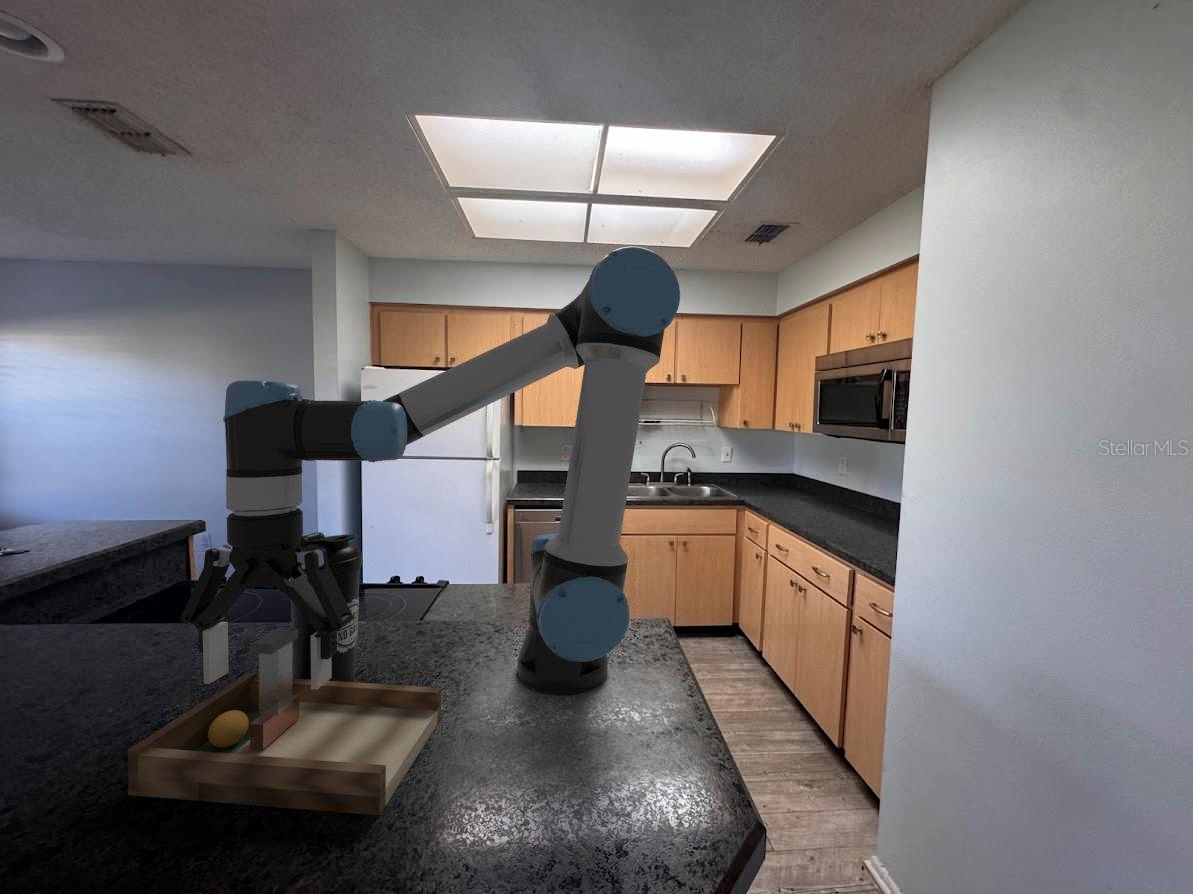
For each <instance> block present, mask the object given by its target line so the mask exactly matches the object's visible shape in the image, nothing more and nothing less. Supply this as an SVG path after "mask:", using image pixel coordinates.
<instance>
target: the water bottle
mask: <svg viewBox="0 0 1193 894" xmlns="http://www.w3.org/2000/svg"><path fill="white" fill-rule="evenodd" d="M355 537H356V536H355V535H354V534H349V533H348V534H338V535H336V534H335V535H328V536H325V534H324V533H323V532H321V531H318V532H313V533H309V534H306V535H302V538H301V541H300V547H301V549H302V551H303V552H307V551H314V550H317V549H319V548H324V549H326V551H327V557H328V566H329V568H330V570H331V572H332V574H333V576H334V578H335V580H336V582H337V584H338V586H339V588H340V590H341V592H342V594H343V596H344V598H345V600H346V603H347V605H348V607H349V609H350V611H351V613H352V615H353V620H352V621H351V622H349V623H348V624H346V625H345V626H344V627H342V628H341V629H339V630H337V651H336V654H335V655H333V656H332V657H331V670H332V677H331V678H330V679H329V680H328V681H340V682H352V680H353V679H354V678H355V676H356V671H357V669H356V668H357V649H358V648H357V646H358V645H357V644H358V631H359V630H358V627H359V609H360V608H359V605H360V604H359V603H360V599H359V597H360V595H359V594H360V573H361V572H360V571H361V568H362V565H363V552H362V551H361V550H360V549H359V547H358V546H357V545H356V544H355V543H354V542H352V540H354V539H355ZM302 565H303V564H302V563H301V564H300V565H299V566H300V568H301V569H302ZM302 570H303V571H304V573H305V574H306V575H307V573H306V569H302ZM307 577H308V576H307ZM293 579H294V578H293V577H291V578H290V579H289V581H291V580H293ZM307 581H308V582H309V584H310V585H311V583H310V581H309V579H307ZM311 586H312V585H311ZM290 609H291V610H290V612H291V613H290V614H291V615H290V616H291V628H298V638H297V639H295V640H293V641H292V678H293V679H309V680H311V635H313V634H314V633H316V632H317V631H316V630H315V629H314V627H313V626H312V625H311V624H310V622H309V621H308V620H307V619H306V617H305V616H304V615H303V614H302V612H301V611H300V610H299V609H298V608H297V606H296V605H295V604H294V603H293V601H292V600H291V599H290Z"/></svg>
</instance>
